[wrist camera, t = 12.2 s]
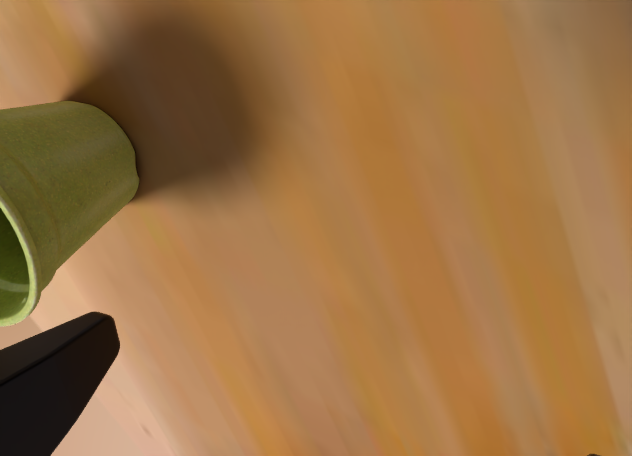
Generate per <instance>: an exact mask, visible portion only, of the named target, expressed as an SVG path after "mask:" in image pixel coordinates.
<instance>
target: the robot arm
mask: <svg viewBox="0 0 632 456" xmlns="http://www.w3.org/2000/svg"><path fill="white" fill-rule="evenodd" d="M119 349H120V341H119V337H118V333H117V329H116V325H115V321H114V319H113V318H112V317H111V316H110V315H107V314H103V313H100V312H90V313H87V314H85V315H83V316H80V317H78V318H75V319H73V320H71V321H68V322H66V323H64V324H61V325H59V326H56V327H54V328H52V329H49V330H47V331H45V332H42V333H40V334H38V335H35V336H33V337H30V338H28V339H25V340H23V341H21V342H18V343H16V344H14V345H11V346H9V347H6V348H4V349H2V350H0V456H51V454H52V453H53V452H54V450H55V449H56V447H57V446H58V445H59V444H60V442H61V441H62V440H63V438H64V437H65V435H66V434H67V433H68V432H69V430H70V429H71V427H72V426H73V425H74V423H75V422H76V421H77V419H78V418H79V416H80V414H81V413H82V411H83V410H84V408H85V407H86V405H87V403H88V402H89V400H90V399H91V397H92V395H93V394H94V392H95V391H96V389H97V387H98V386H99V384H100V383H101V381H102V379H103V378H104V376H105V374H106V373H107V371H108V370H109V368H110V366H111V365H112V363H113V362H114V360H115V358H116V357H117V355H118V352H119ZM587 456H600V455H596V454H589V455H587Z"/></svg>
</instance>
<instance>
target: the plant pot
mask: <svg viewBox="0 0 632 456" xmlns="http://www.w3.org/2000/svg"><path fill="white" fill-rule="evenodd" d="M138 185H139V177H138V175H137V171H136V165H135V151H134V149H133V147H132V144H131V142H130V141H129V139H128V137H127V136H126V134H125V133H124V131H123V130H122V129H121V128H120V126H119V125H118V124H117V123H116V122H115V121H114V120H113V119H112V118H111V117H110V116H108V115H107V114H106V113H105V112H103V111H102V110H100V109H98V108H97V107H95V106H92V105H89V104H84V103H79V102H73V101H61V102H53V103H46V104H39V105H32V106H25V107H17V108H10V109H2V110H0V326H9V325H13V324H16V323H18V322H20V321H22V320H23V319H25V318H26V317H27V316H28V315H30V314H31V313H32V311H33V310H34V309H35V307H36V306H37V304H38V302H39V299H40V295H41V291H42V290H43V289H44V288H45V287H46V286H47V285H48V284H49V283H50V281H51V280H52V278H53V276H54V274H55V272H56V270H57V269H58V268H59V267H60V266H61V265H62V264H63V263H64V262H65V261H66V260H67V259H68V258H69V257H70V256H72V255H73V254H74V253H75V252H76V251H77V250H78V249H79V248H80V247H81V246H82V245H83V244H84V243H85V242H87V241H88V240H89V239H90V238H91V237H92V236H93V235H94V234H95V233H96V232H97V231H98V230H99V229H100V228H101V227H102V226H103V225H104V224H106V223H107V222H108V221H109V220H110V219H111V218H112V217H113V216H114V215H115V214H116V213H117V212H119V211H120V210H121V209H122V208H123V207H124V206H125V205H126V204H127V203H128V202H129V201H130V200H131V199H132V198H133V197H134V195H135V194H136V191H137V189H138Z"/></svg>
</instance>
